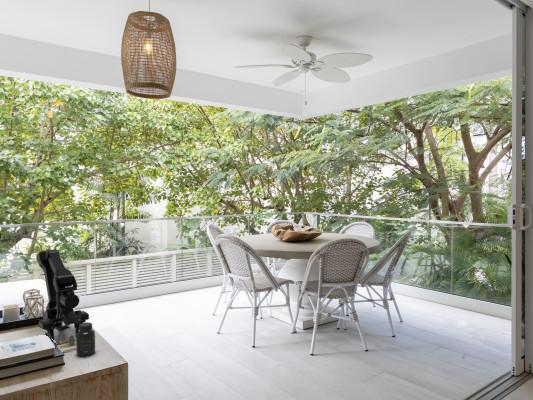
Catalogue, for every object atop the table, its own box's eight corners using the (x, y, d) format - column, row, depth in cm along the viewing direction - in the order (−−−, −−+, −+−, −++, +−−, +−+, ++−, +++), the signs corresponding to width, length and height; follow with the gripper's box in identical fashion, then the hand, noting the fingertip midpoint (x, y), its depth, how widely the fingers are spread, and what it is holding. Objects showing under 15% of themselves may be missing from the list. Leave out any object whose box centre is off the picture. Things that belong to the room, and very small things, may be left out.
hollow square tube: (53, 342, 179) (53, 327, 179) (69, 338, 184) (69, 324, 184) (59, 346, 175) (59, 331, 175) (75, 342, 180) (75, 327, 179)
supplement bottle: (77, 352, 169) (76, 322, 169) (95, 349, 172) (95, 320, 171) (75, 358, 163) (75, 327, 163) (95, 356, 165) (94, 325, 165)
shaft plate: (56, 348, 173) (55, 336, 173) (80, 341, 180) (80, 330, 180) (62, 353, 168) (62, 341, 168) (87, 346, 175) (87, 334, 175)
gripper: (47, 312, 166) (48, 351, 167) (94, 302, 180) (94, 338, 181) (37, 306, 174) (38, 343, 175) (83, 297, 188) (83, 332, 188)
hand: (64, 339), depth 179 cm, fingers open, 9 cm apart
